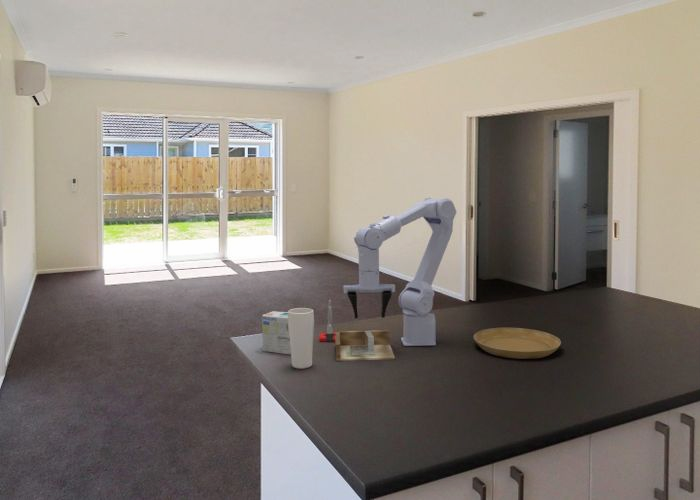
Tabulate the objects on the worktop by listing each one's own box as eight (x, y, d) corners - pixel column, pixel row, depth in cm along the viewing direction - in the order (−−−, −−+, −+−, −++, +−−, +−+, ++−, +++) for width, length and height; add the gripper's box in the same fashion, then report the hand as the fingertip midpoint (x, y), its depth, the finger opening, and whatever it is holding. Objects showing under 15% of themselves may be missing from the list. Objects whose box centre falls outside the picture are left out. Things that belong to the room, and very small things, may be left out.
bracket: (374, 354, 159) (373, 337, 158) (352, 355, 158) (352, 338, 157) (370, 347, 166) (370, 330, 165) (349, 348, 165) (349, 331, 164)
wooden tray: (389, 343, 170) (389, 330, 170) (394, 357, 156) (394, 343, 156) (335, 344, 170) (335, 331, 169) (336, 358, 156) (335, 344, 155)
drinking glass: (318, 363, 154) (317, 308, 152) (308, 371, 147) (307, 314, 146) (295, 361, 156) (294, 307, 154) (284, 368, 149) (283, 312, 148)
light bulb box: (305, 349, 167) (305, 313, 166) (294, 355, 161) (293, 318, 160) (274, 345, 172) (273, 310, 170) (262, 351, 165) (260, 314, 164)
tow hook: (322, 335, 184) (315, 341, 175) (321, 295, 183) (315, 300, 174) (347, 336, 183) (343, 342, 173) (347, 296, 182) (342, 300, 173)
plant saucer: (567, 364, 151) (567, 352, 151) (473, 359, 156) (474, 348, 156) (553, 339, 175) (554, 329, 174) (473, 336, 179) (473, 326, 179)
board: (389, 345, 170) (389, 343, 170) (394, 359, 156) (394, 357, 156) (335, 346, 170) (335, 344, 170) (336, 360, 156) (336, 358, 156)
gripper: (392, 267, 166) (393, 313, 168) (342, 268, 165) (343, 314, 167) (395, 271, 159) (396, 319, 161) (343, 272, 158) (344, 320, 160)
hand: (369, 317), depth 163 cm, fingers open, 7 cm apart
